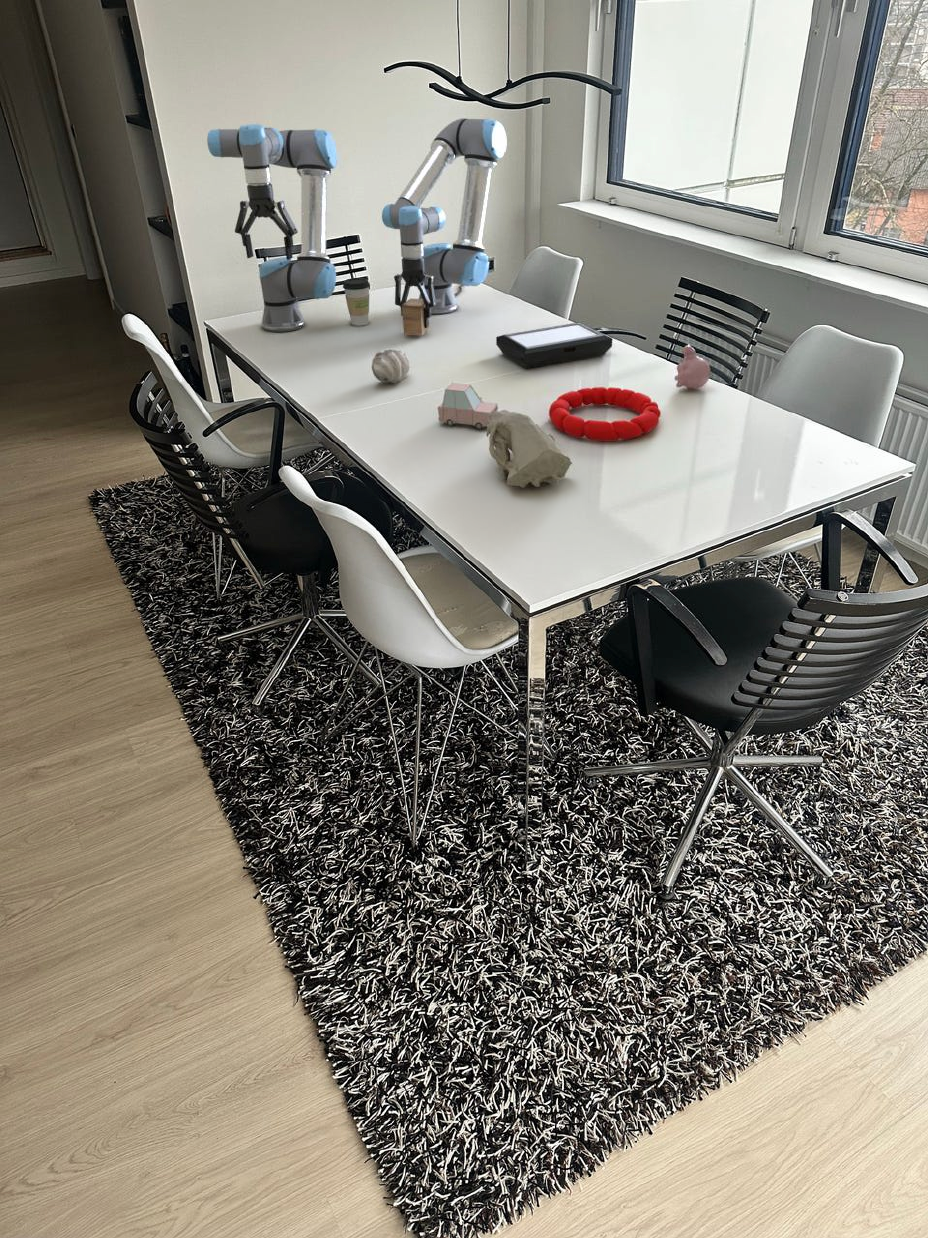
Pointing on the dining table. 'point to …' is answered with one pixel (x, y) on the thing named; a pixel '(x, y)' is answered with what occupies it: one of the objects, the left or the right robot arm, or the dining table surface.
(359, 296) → the coffee cup
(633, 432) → the decorative ring
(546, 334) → the electronic device
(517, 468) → the grey rough stone chunk
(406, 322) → the block
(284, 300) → the left robot arm
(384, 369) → the seashell
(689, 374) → the figurine
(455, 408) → the toy car
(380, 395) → the dining table surface
